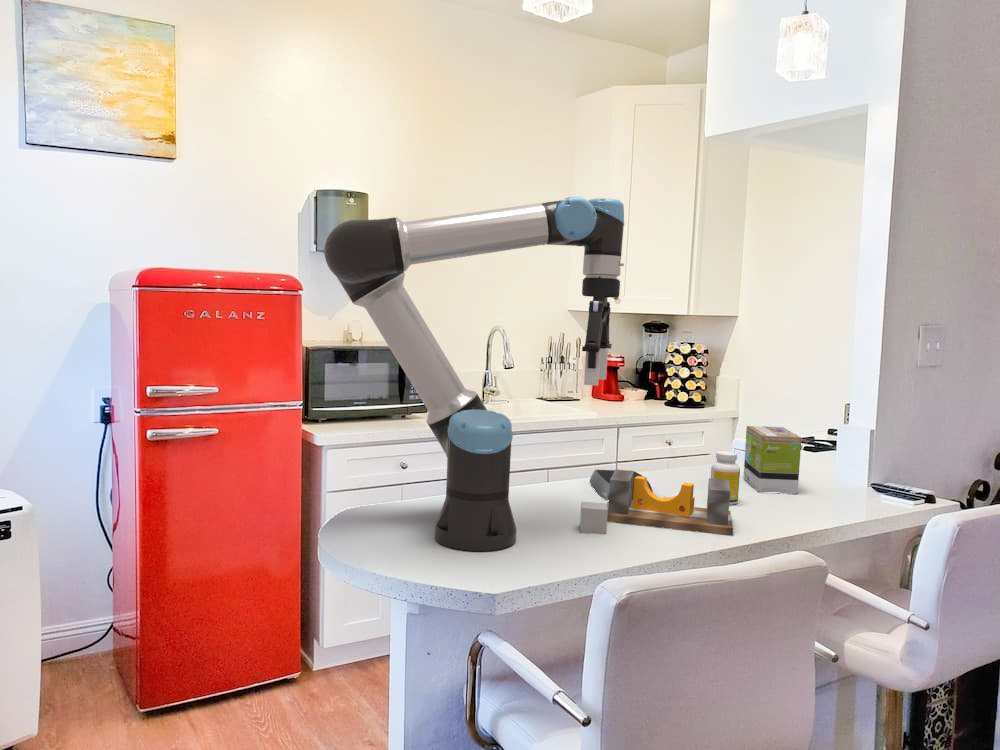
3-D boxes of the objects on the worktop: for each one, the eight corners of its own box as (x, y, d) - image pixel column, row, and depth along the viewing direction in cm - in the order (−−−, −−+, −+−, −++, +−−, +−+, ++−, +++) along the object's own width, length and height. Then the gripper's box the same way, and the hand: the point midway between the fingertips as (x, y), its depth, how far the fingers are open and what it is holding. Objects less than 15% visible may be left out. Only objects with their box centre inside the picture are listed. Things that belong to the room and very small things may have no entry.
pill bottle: (739, 506, 182) (743, 456, 181) (710, 504, 183) (713, 454, 182) (735, 499, 188) (739, 451, 187) (707, 497, 189) (711, 449, 188)
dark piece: (602, 502, 182) (603, 485, 181) (586, 483, 201) (587, 467, 200) (658, 503, 183) (659, 486, 182) (637, 484, 202) (638, 468, 202)
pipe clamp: (693, 512, 168) (695, 482, 167) (688, 516, 164) (691, 486, 163) (638, 503, 173) (640, 474, 172) (632, 507, 169) (634, 478, 168)
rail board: (602, 521, 164) (604, 480, 163) (609, 504, 178) (611, 467, 177) (732, 535, 158) (735, 493, 157) (729, 517, 172) (732, 479, 171)
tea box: (741, 479, 211) (745, 424, 210) (779, 481, 211) (784, 426, 210) (757, 493, 196) (762, 434, 195) (798, 495, 196) (803, 436, 195)
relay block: (580, 533, 155) (582, 508, 155) (579, 525, 160) (581, 501, 160) (606, 534, 155) (607, 509, 155) (604, 527, 160) (606, 503, 159)
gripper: (613, 275, 147) (607, 389, 149) (625, 280, 171) (619, 378, 173) (573, 274, 149) (567, 386, 151) (591, 278, 173) (585, 375, 175)
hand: (595, 382), depth 162 cm, fingers open, 13 cm apart
